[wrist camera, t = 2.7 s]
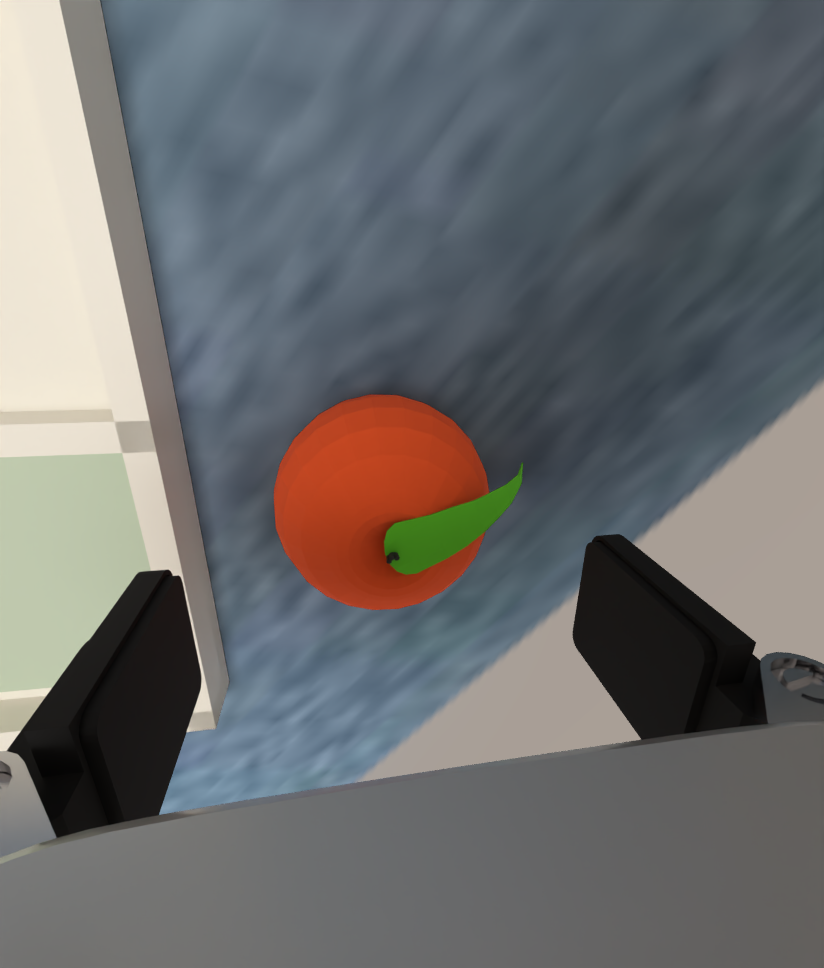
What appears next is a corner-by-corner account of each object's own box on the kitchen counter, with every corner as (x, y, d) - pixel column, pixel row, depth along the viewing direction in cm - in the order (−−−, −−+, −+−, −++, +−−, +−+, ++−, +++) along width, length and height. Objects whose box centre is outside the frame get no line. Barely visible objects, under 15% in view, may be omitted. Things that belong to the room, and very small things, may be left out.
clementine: (457, 338, 17) (528, 367, 10) (505, 497, 20) (585, 598, 13) (253, 417, 17) (198, 495, 11) (330, 564, 20) (324, 698, 13)
